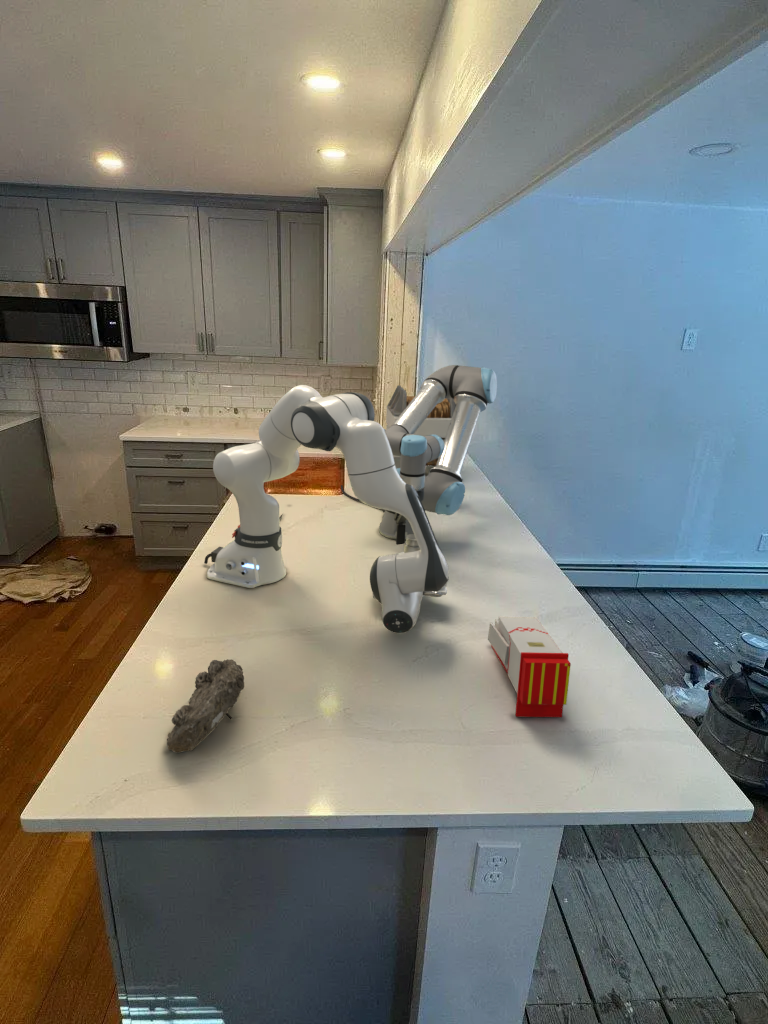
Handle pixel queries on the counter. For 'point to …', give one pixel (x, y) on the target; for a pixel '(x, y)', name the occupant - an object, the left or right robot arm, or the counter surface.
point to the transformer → (431, 425)
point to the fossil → (206, 705)
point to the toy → (531, 665)
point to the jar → (411, 544)
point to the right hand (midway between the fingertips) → (408, 552)
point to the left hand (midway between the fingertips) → (412, 568)
